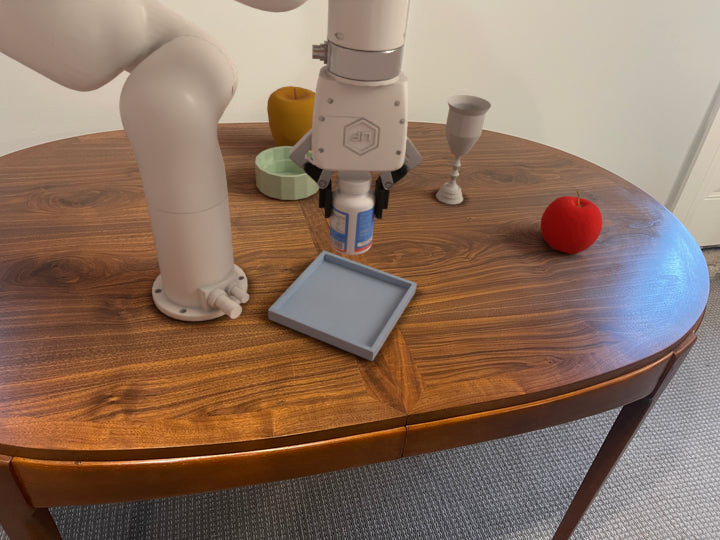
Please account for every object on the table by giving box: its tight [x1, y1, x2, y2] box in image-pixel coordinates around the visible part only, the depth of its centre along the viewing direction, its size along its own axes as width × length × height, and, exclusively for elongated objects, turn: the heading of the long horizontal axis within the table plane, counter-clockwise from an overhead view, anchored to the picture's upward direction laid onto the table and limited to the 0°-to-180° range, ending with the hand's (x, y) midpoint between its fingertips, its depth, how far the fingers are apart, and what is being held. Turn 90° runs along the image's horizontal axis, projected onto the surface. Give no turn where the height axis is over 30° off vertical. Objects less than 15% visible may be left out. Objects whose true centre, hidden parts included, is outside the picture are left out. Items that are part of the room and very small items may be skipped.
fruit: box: [540, 190, 603, 255], centre depth 87 cm, size 9×9×10 cm
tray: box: [267, 250, 418, 362], centre depth 74 cm, size 15×15×2 cm
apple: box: [266, 85, 316, 151], centre depth 105 cm, size 11×11×13 cm
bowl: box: [254, 146, 319, 201], centre depth 97 cm, size 12×12×5 cm
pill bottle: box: [329, 171, 376, 256], centre depth 65 cm, size 6×5×10 cm
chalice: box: [435, 94, 492, 205], centre depth 94 cm, size 7×7×18 cm
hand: (352, 211), depth 65 cm, fingers closed on pill bottle, 5 cm apart
